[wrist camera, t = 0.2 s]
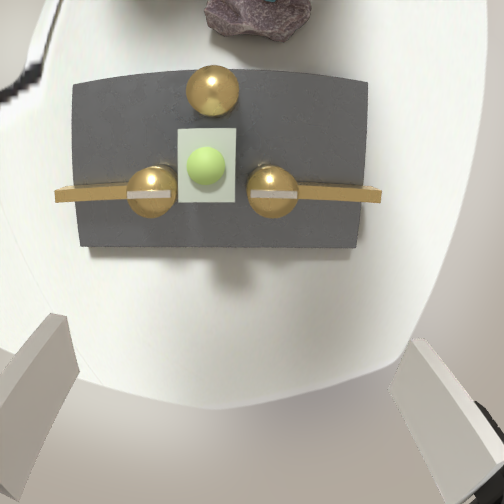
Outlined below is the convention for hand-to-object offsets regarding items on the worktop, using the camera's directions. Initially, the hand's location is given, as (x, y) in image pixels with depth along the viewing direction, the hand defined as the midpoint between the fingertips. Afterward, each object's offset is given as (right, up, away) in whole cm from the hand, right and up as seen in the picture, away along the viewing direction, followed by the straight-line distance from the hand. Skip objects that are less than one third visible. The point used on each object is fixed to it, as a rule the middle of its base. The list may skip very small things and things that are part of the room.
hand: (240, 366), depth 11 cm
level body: (-4, +14, +22) cm, 26 cm away
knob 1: (-14, +11, +22) cm, 29 cm away
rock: (+1, +32, +18) cm, 37 cm away
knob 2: (+7, +11, +23) cm, 27 cm away
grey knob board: (-4, +15, +24) cm, 28 cm away
